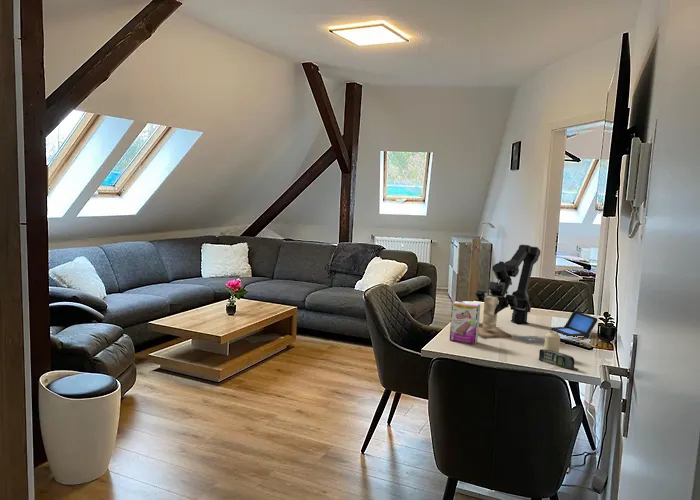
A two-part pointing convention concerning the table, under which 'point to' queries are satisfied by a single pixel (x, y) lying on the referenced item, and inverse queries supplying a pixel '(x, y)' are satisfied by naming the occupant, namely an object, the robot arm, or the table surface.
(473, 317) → the candy bar box
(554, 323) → the table surface
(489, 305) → the birch block
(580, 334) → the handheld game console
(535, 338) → the gray mat
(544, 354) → the mobile phone
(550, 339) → the candle
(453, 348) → the table surface
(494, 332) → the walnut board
